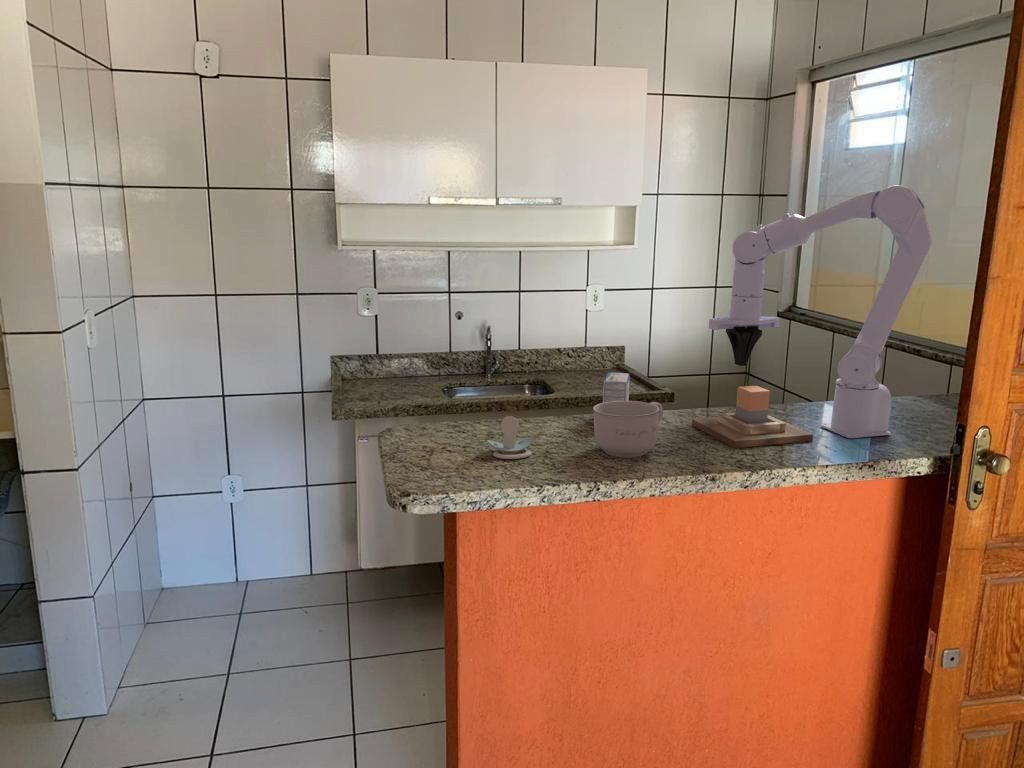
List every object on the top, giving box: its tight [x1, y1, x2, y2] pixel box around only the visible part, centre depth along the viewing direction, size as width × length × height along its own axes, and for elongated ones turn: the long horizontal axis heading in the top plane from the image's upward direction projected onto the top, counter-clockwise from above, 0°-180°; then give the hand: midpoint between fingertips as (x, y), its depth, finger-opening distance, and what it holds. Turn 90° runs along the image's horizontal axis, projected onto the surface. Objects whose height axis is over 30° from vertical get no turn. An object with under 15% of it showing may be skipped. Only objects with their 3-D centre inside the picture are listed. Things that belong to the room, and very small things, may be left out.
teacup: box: [592, 400, 664, 459], centre depth 127 cm, size 14×11×8 cm
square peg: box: [734, 385, 771, 424], centre depth 138 cm, size 4×4×7 cm
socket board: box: [691, 412, 814, 449], centre depth 139 cm, size 16×14×3 cm
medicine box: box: [602, 372, 631, 403], centre depth 144 cm, size 8×4×9 cm, turn 168°
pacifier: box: [486, 415, 533, 460], centre depth 124 cm, size 7×6×6 cm
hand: (740, 364), depth 149 cm, fingers closed
